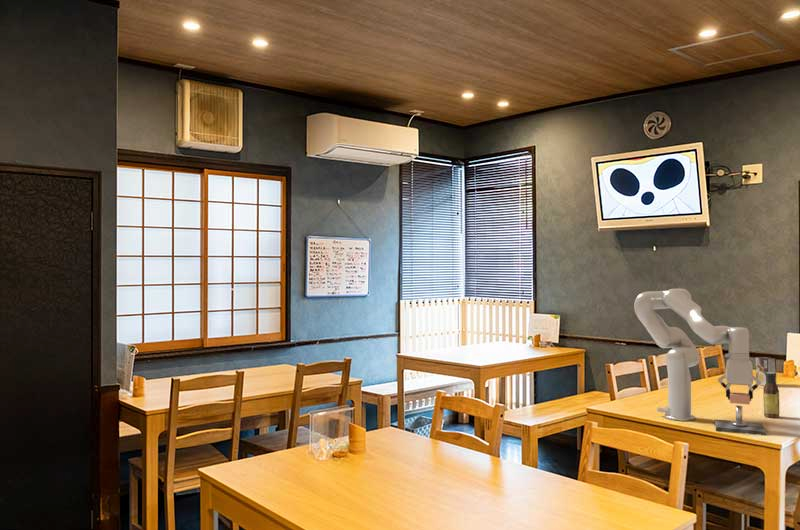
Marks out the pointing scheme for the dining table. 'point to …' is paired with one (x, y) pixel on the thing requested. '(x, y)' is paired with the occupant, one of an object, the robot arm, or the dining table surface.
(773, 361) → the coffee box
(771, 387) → the sauce bottle
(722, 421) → the base plate
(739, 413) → the metal post
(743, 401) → the square ring block
